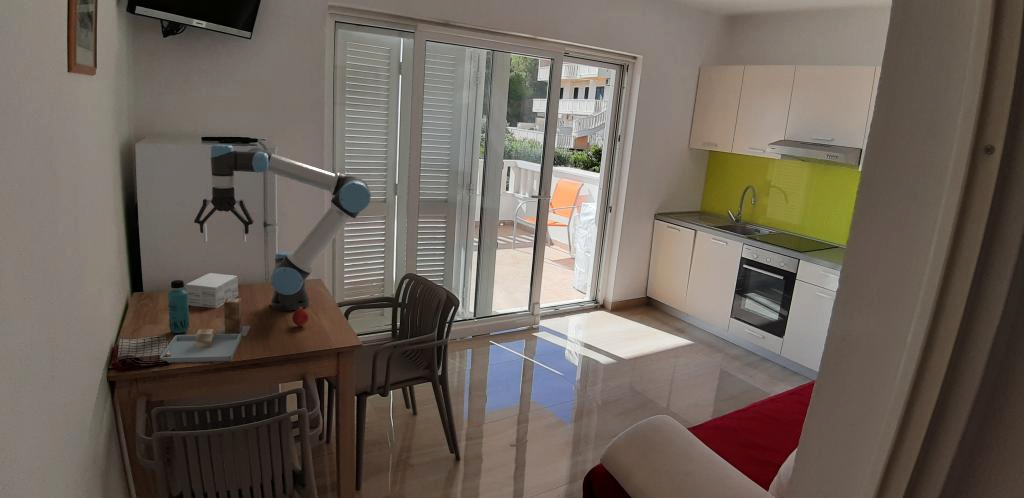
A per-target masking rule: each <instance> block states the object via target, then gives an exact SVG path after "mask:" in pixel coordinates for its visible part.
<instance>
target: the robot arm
mask: <svg viewBox="0 0 1024 498" xmlns="http://www.w3.org/2000/svg"><path fill="white" fill-rule="evenodd" d="M210 168H211V186H212V188H211V193H212V194H211V196H212V198H211V199H210V198H207V197H205V198H203V200H202V205H201V207H200V209H199V211H198V213H197V214H196V217H195V218H194V220H193V222H194V224H199V231H200V232H199V233H201V234H202V235H203V236H202V237H203V243H206V242H207V241H208V223H206V222H207V221H208V220H209V218H211V216H212V215H213V214H214V213H216V211H219V212H226V213H227V212H228V213H229V212H231V213H232V214H233V215H234V216H235V217H236V218H237V219H238V220H239V221H240V222H241V223H242V224H243V225H242V229H241V231H242V235H241V236H242V243H243V244H245V243H246V242H247V235H248V234H249V232H250V230H249V228H250V227H249V226H250V225H253V224H254V220H253V218H252V216H251V214H250V212H249V211H248V209H247V207H246V205H245V200H244V199H238V200H236V198H235V187H234V186H235V172H243V173H244V172H246V173H247V172H248V173H257V174H258V173H267V172H268V173H271V174H274V175H277V176H280V177H283V178H286V179H289V180H292V181H296V182H297V183H298V182H299V183H301V184H305V185H307V186H311V187H315V188H317V189H320V190H323V191H327V192H329V193H330V195H331V196H333V197H332V198H331V199H330V206H329V208H328V209H327V211H326V212H325V214H324V215H322V217H321V218H320V220H318V222H317V223H316V224H315V226H314V227H313V228H312V230H311V231H310V232H309V233H308V234H307V235H306V236H305V238H304V239H303V240H302V242H301V243H300V244H299V246H298V247H297V248H296V249H295V250H294V251H280V252H277V253H275V256H274V262H275V263H274V269H273V271H272V274H271V276H270V281H271V282H270V283H271V286H272V288H273V290H274V292H273V294H272V298H271V301H270V302H271V307H272V309H274V310H278V311H286V312H287V311H288V312H290V311H296V310H298V309H299V308H300V307H302V309H303V310H304V309H306V308H308V307H309V305H310V298H309V295H308V293H307V290H306V285H305V284H306V279H307V278H308V277H309V276H310V275H311V273H312V272H313V267H312V266H313V265H314V263H316V261H317V260H318V258H319V257H320V256H321V255H322V254H323V252H324V251H325V250H326V249H327V247H328V246H329V245H330V243H332V241H333V240H334V239H335V238H336V236H337V235H338V234H339V233H340V232H341V230H342V229H343V228H344V226H346V224H347V222H349V221H350V220H355V219H356V218H357V216H358V215H359V214H360V213H361V212H362V211H364V210H365V209H366V208H367V207H368V206H369V204H370V202H371V191H370V188H369V187H368V184H367V183H366V182H365V180H364V179H362V178H360V177H357V176H352V175H348V174H344V173H341V172H337V173H332V172H330V171H327V170H323V169H320V168H318V167H315V166H311V165H308V164H306V163H303V162H299V161H296V160H293V159H290V158H287V157H283V156H282V155H281V156H280V155H278V154H275V153H271V152H269V151H265V150H264V149H262V148H259V147H253V148H251V149H248V150H247V151H245V150H243V151H240V150H234V146H233V145H230V144H223V143H222V144H218V143H217V144H213V145H212V146H210ZM210 203H211V205H213V207H212V209H211V210H210V211H209V212H208V213H207V214H206V215H204V218H202V216H203V214H204V212H205V210H206V209H207V208H208V205H210ZM236 204H237V206H239V207H240V209H241V211H242V213H243V215H244V216H245V217H244V216H243V215H242V214H241V213H240V212H239V210H238V209H237V208H236ZM201 219H202V220H201Z"/></svg>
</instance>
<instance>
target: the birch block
mask: <svg viewBox="0 0 1024 498" xmlns="http://www.w3.org/2000/svg"><path fill="white" fill-rule="evenodd" d="M214 334H215V333H214V328H201V329H198V330H197V332H196V333H195V335H196V343H197V348H207V347H212V345H213V343H214Z"/></svg>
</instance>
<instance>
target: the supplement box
mask: <svg viewBox="0 0 1024 498" xmlns="http://www.w3.org/2000/svg"><path fill="white" fill-rule="evenodd" d="M185 290H186V291H187V292H188V306H193V307H203V308H209V309H210V308H211V309H218V308H219V307H221V306H224V302H225V300H226V299H227V298H238V296H239V279H238V275H232V274H222V273H215V272H213V273H212V272H208V273H206V274H204V275H203V276H200V277H198V278H196V279H194V280H192V281H190V282H188V283H186V284H185Z"/></svg>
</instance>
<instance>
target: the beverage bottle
mask: <svg viewBox="0 0 1024 498" xmlns="http://www.w3.org/2000/svg"><path fill="white" fill-rule="evenodd" d="M170 287H171V290H170V291H169V292H168V293H167V299H168V301H167V302H168V304H167V306H168V307H167V308H168V327H169V331H170V332H171V333H175V334H176V333H177V334H179V333H185V332H187V331H189V329H190V315H189V314H190V312H189V311H190V310H189V305H188V292H187V291H186V289H184V288H185V282H184V280H183V279H177V280H176V279H175V280H172V281H171V283H170Z"/></svg>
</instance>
